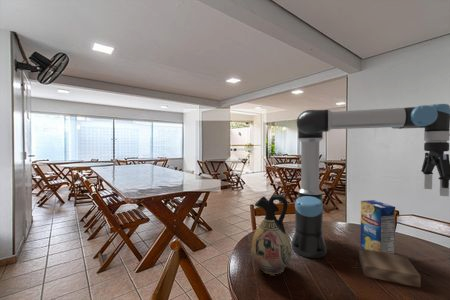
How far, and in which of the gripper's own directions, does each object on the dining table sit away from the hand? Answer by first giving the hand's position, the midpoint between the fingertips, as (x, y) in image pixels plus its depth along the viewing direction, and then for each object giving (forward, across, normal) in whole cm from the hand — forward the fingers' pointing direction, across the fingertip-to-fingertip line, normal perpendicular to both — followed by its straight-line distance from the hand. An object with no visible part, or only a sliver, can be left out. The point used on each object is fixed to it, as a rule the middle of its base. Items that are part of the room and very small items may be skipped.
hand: (435, 192), depth 91 cm
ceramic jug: (+28, -35, +61) cm, 76 cm away
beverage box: (+28, -4, +21) cm, 35 cm away
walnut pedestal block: (+28, -19, +21) cm, 40 cm away
